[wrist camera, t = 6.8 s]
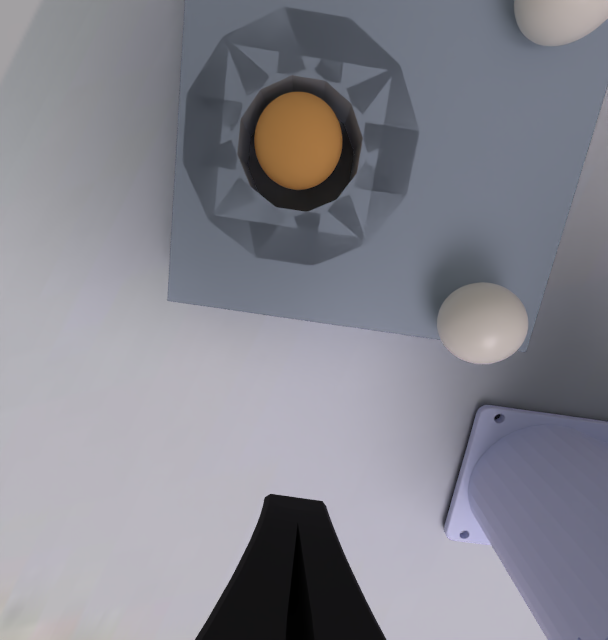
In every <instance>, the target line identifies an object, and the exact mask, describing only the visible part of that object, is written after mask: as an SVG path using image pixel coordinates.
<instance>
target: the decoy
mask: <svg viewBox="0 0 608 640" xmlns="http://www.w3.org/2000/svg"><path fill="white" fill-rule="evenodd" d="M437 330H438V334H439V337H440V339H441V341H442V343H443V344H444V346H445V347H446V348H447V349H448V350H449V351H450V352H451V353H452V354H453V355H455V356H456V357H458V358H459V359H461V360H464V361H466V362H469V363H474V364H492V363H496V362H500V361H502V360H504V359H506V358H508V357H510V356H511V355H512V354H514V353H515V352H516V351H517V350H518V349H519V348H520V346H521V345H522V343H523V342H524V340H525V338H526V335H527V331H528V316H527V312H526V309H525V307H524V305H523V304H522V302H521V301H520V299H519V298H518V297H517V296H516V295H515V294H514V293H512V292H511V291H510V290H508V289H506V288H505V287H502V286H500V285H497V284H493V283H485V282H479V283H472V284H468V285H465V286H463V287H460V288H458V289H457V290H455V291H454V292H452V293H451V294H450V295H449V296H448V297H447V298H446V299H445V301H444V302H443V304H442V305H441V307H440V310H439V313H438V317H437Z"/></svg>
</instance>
